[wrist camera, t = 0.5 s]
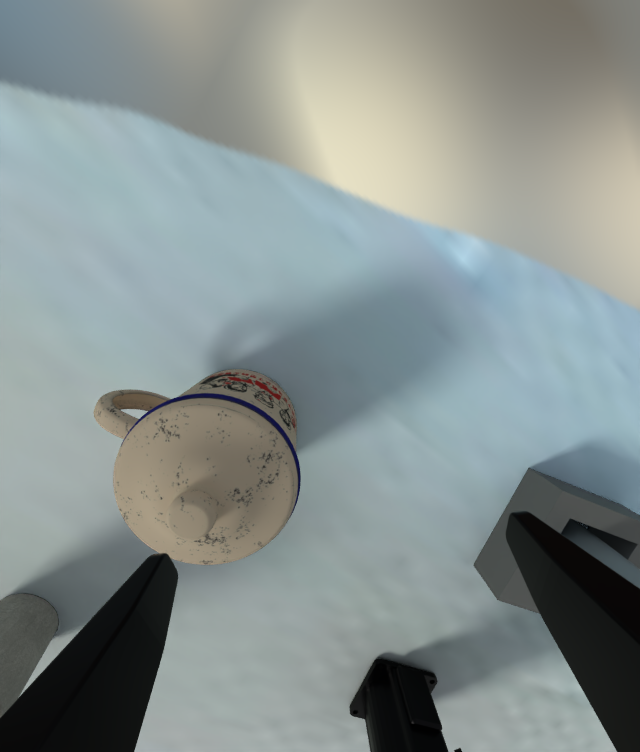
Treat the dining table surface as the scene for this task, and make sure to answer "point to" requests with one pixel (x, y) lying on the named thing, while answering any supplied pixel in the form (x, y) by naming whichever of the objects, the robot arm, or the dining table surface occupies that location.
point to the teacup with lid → (206, 465)
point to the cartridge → (601, 551)
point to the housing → (555, 507)
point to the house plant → (22, 642)
